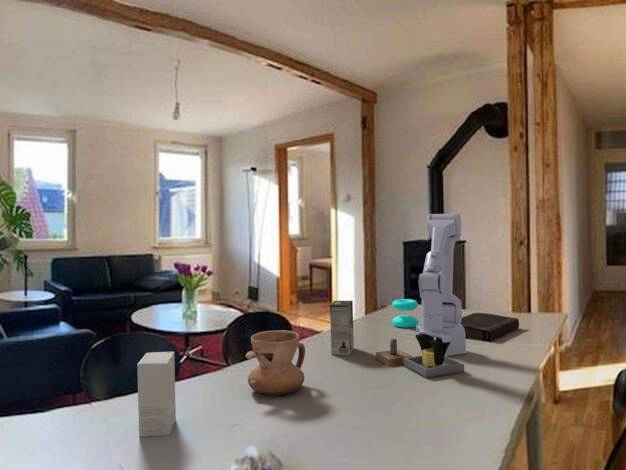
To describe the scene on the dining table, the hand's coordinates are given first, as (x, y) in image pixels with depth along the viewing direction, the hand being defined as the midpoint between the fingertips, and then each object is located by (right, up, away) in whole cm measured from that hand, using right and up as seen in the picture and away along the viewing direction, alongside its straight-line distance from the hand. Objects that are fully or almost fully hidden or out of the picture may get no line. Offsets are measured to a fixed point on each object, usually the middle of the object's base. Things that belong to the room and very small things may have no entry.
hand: (432, 361), depth 142 cm
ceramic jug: (-43, -4, -13) cm, 45 cm away
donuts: (+3, 0, +56) cm, 56 cm away
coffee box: (-24, -2, +21) cm, 32 cm away
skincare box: (-67, -6, -35) cm, 76 cm away
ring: (0, 0, 0) cm, 0 cm away
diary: (+28, 0, +43) cm, 52 cm away
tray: (0, -2, 0) cm, 2 cm away
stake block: (-10, -2, +9) cm, 14 cm away
